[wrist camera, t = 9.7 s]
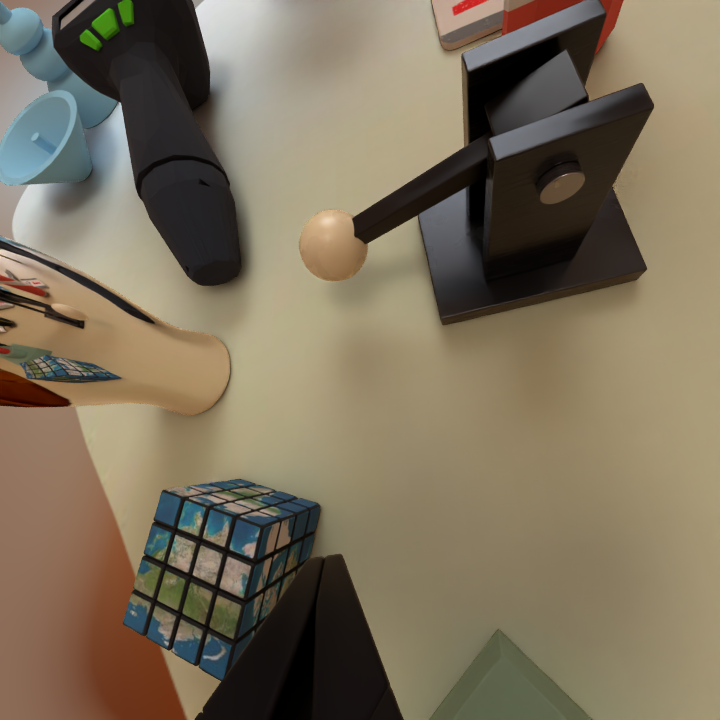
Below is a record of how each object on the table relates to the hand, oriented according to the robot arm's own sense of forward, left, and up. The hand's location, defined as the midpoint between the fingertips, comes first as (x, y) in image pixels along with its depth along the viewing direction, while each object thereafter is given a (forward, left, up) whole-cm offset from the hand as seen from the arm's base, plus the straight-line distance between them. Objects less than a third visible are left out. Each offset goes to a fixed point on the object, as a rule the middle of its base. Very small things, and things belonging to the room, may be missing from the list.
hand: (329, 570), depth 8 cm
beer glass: (-4, +17, -11) cm, 21 cm away
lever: (+12, +7, -7) cm, 15 cm away
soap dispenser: (+5, +48, -11) cm, 50 cm away
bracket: (+15, +4, -11) cm, 19 cm away
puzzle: (-8, +5, -11) cm, 15 cm away
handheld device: (+9, +30, -11) cm, 33 cm away
